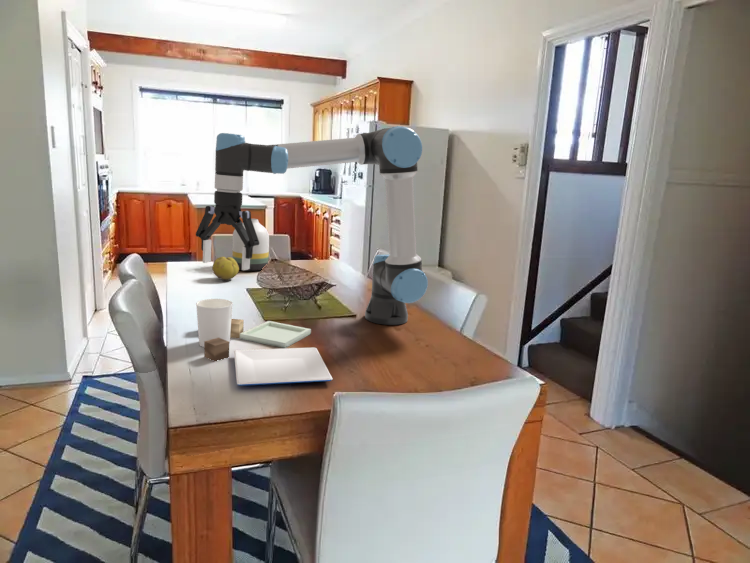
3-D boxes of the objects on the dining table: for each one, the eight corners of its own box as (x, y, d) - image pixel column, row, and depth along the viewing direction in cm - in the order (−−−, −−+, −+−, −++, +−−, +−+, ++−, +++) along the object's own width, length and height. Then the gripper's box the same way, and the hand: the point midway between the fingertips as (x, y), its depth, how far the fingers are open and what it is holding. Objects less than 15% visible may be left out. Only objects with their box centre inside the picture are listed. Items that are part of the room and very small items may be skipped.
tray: (310, 333, 163) (311, 329, 163) (285, 348, 149) (285, 343, 148) (268, 325, 168) (268, 320, 168) (239, 338, 154) (239, 333, 154)
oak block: (243, 333, 159) (243, 319, 158) (239, 338, 155) (239, 324, 154) (228, 332, 159) (228, 318, 158) (224, 337, 155) (224, 322, 154)
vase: (275, 270, 252) (276, 221, 247) (245, 274, 240) (245, 222, 235) (255, 264, 263) (256, 216, 258) (225, 267, 251) (225, 217, 246)
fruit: (205, 279, 224) (205, 256, 222) (227, 276, 234) (227, 254, 232) (222, 284, 218) (222, 260, 216) (244, 280, 228) (244, 257, 226)
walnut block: (229, 357, 139) (229, 341, 138) (214, 362, 136) (215, 345, 135) (218, 353, 142) (218, 337, 141) (204, 357, 138) (204, 341, 137)
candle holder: (210, 352, 142) (210, 309, 139) (189, 343, 148) (188, 302, 145) (239, 344, 150) (240, 303, 147) (218, 335, 155) (218, 296, 153)
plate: (332, 386, 126) (333, 378, 126) (236, 392, 120) (237, 383, 119) (316, 353, 147) (316, 346, 147) (233, 356, 140) (233, 349, 140)
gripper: (274, 195, 144) (270, 270, 149) (202, 186, 153) (200, 257, 158) (258, 195, 137) (254, 274, 142) (183, 186, 146) (182, 260, 151)
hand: (225, 265), depth 150 cm, fingers open, 13 cm apart
